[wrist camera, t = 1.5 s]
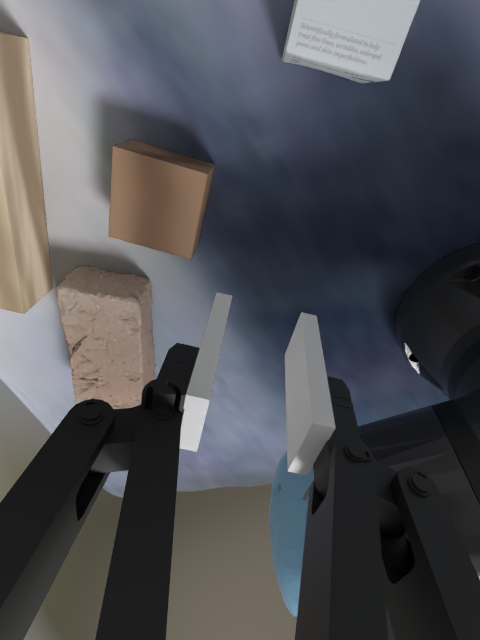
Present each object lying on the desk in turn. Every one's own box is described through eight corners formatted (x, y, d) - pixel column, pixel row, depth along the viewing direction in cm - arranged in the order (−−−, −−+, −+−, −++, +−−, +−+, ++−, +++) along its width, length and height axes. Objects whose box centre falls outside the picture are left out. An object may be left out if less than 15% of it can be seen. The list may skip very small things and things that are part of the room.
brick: (72, 263, 35) (46, 285, 31) (153, 275, 35) (138, 298, 31) (93, 381, 45) (75, 409, 41) (158, 391, 44) (146, 420, 41)
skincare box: (280, 62, 25) (281, 54, 18) (307, -59, 21) (320, -119, 15) (363, 84, 25) (391, 83, 19) (403, -32, 21) (453, -80, 15)
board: (28, 38, 25) (-22, 28, 21) (52, 288, 37) (24, 313, 33) (-14, 27, 25) (-73, 15, 21) (24, 281, 37) (-9, 306, 32)
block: (215, 164, 29) (207, 174, 26) (199, 241, 33) (190, 259, 29) (132, 138, 28) (112, 146, 25) (125, 220, 32) (108, 236, 29)
